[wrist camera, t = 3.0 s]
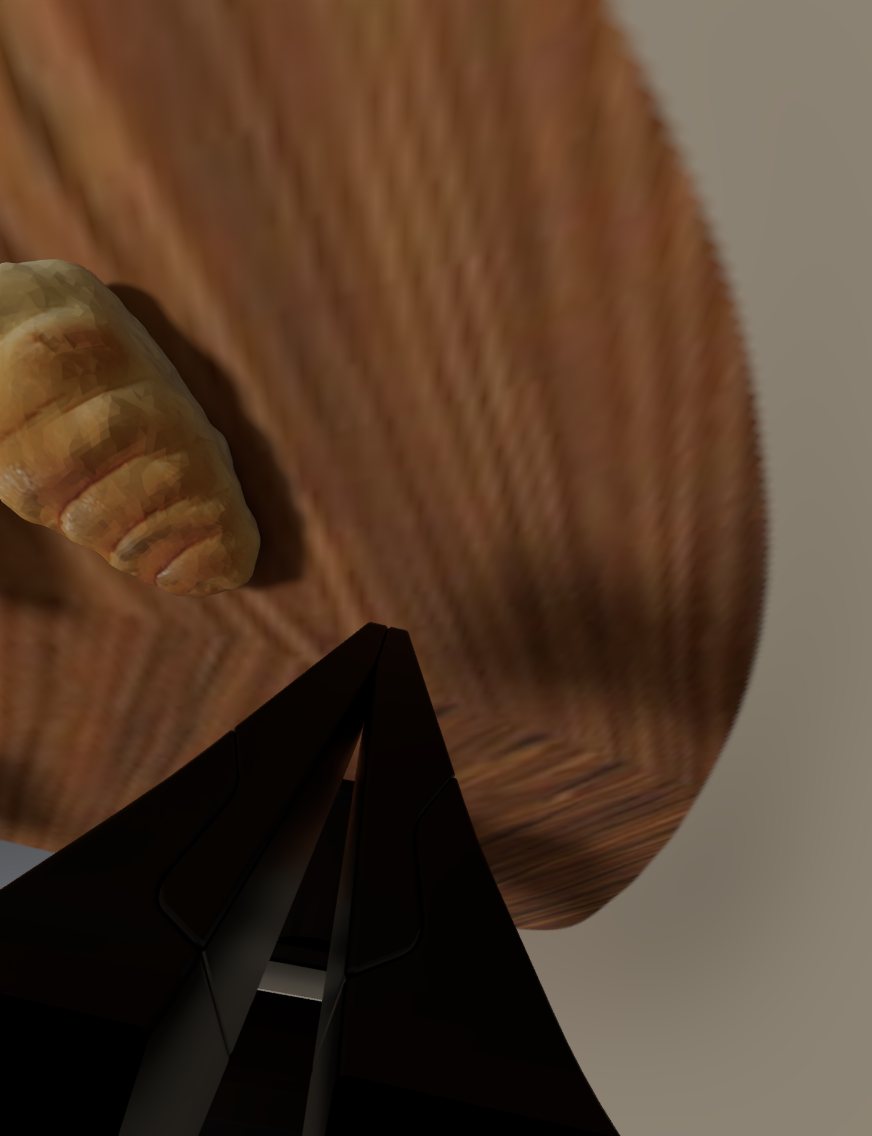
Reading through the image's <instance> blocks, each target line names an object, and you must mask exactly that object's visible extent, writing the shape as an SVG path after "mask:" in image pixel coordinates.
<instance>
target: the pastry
mask: <svg viewBox="0 0 872 1136" xmlns="http://www.w3.org/2000/svg"><path fill="white" fill-rule="evenodd" d="M0 499H1V501H2V502H3V503H4V504H6V505H7V506H8V507H10V508H11V509H12V510H13V511H14V512H15V513H17V514H18V515H19V516H20V517H21V518H23V519H25V520H27V521H29V522H31V523H35V524H39V525H42V526H45V527H48V528H50V529H52V530H54V531H56V532H58V533H60V534H62V535H65V536H66V537H67V538H68V539H70V540H71V541H73V542H75V543H78V544H80V545H84V546H85V547H88V548H90V549H92V550H94V551H96V552H98V553H99V554H100V555H101V556H103V557H104V558H105V559H106V560H107V561H108V563H109V564H110V565H112V566H113V567H115V568H117V569H119V570H120V571H124V572H127V573H129V574H131V575H133V576H136V577H138V578H140V579H141V580H143V581H144V582H146V583H148V584H151V585H155V586H157V587H160V588H163V589H165V590H167V591H169V592H170V593H172V594H174V595H177V596H196V597H203V596H208V595H212V594H217V593H220V592H223V591H226V590H229V589H235V588H239V587H241V586H243V585H244V584H245V583H247V582H248V581H249V580H250V578H251V577H252V575H253V572H254V568H255V563H256V560H257V557H258V553H259V548H260V542H261V540H260V534H259V531H258V527H257V523H256V520H255V518H254V517H253V515H252V513H251V512H250V510H249V508H248V506H247V505H246V502H245V499H244V496H243V492H242V489H241V485H240V482H239V481H238V478H237V476H236V473H235V471H234V467H233V460H232V455H231V451H230V449H229V446H228V443H227V441H226V439H225V437H224V436H223V434H222V433H221V432H219V431H218V430H217V429H215V428H214V427H213V426H212V425H211V424H210V422H209V421H208V419H207V416H206V414H205V412H204V411H203V409H202V407H201V406H200V405H199V403H198V402H197V401H196V399H195V398H194V397H193V395H192V394H191V392H190V391H189V389H188V388H187V386H186V385H185V383H184V382H183V380H182V379H181V377H180V375H179V373H178V371H177V370H176V368H175V367H174V365H173V364H172V363H171V361H170V360H169V359H168V358H167V357H166V355H165V354H164V352H163V351H162V349H161V348H160V347H159V346H158V344H157V343H156V342H155V341H154V340H153V339H152V337H151V336H150V335H149V333H148V332H147V330H146V329H145V327H144V326H143V325H142V324H141V323H140V322H139V321H138V320H137V319H136V318H135V317H134V316H133V315H132V314H131V313H130V312H129V311H128V310H127V308H126V307H125V306H124V304H123V303H122V302H121V300H120V299H119V298H118V297H117V296H116V295H115V294H114V293H113V292H112V291H111V290H109V289H108V288H107V287H106V286H105V285H104V284H103V283H102V282H101V281H100V280H99V279H98V278H97V277H96V276H95V275H94V274H93V273H92V272H91V271H89V270H87V269H86V268H84V267H83V266H80V265H78V264H76V263H71V262H67V261H63V260H59V259H49V260H39V261H32V262H24V263H19V264H16V263H8V262H6V263H2V264H0Z"/></svg>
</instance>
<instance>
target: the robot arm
mask: <svg viewBox="0 0 872 1136" xmlns="http://www.w3.org/2000/svg"><path fill="white" fill-rule="evenodd" d="M363 725H364V726H363ZM362 728H363V731H362ZM234 731H235V733H234ZM234 731H232V730H231V731H229V732H228V733H226V734H225V735H224V736H223V737H221V738H220V739H219V740H218V741H216V742H215V743H214V744H212V745H211V746H210V747H209V748H207V749H206V750H205V751H203V752H202V753H201V754H199V755H198V756H197V757H195V758H194V759H193V760H191V761H190V762H189V763H187V764H186V765H185V766H183V767H182V768H181V769H179V770H178V771H177V772H175V773H174V774H173V775H171V776H170V777H168V778H167V779H165V780H164V781H162V782H161V783H160V784H158V785H157V786H155V787H154V788H152V789H151V790H149V791H148V792H146V793H145V794H143V795H142V796H141V797H139V798H138V799H136V800H135V801H133V802H132V803H130V804H129V805H127V806H126V807H124V808H123V809H122V810H120V811H119V812H117V813H116V814H114V815H112V816H111V817H109V818H108V819H106V820H105V821H103V822H102V823H100V824H99V825H97V826H96V827H94V828H93V829H91V830H90V831H88V832H87V833H85V834H84V835H82V836H81V837H79V838H78V839H76V840H75V841H73V842H72V843H70V844H69V845H67V846H66V847H64V848H62V849H61V850H59V851H58V852H56V853H55V854H53V855H52V856H50V857H49V858H47V859H46V860H45V861H43V862H41V863H40V864H38V865H37V866H35V867H34V868H32V869H31V870H29V871H28V872H26V873H25V874H23V875H22V876H20V877H19V878H17V879H16V880H14V881H12V882H11V883H9V884H8V885H7V886H5V887H3V888H2V889H0V1136H620V1134H619V1133H618V1131H617V1130H616V1128H615V1127H614V1125H613V1123H612V1122H611V1120H610V1118H609V1117H608V1115H607V1114H606V1112H605V1110H604V1109H603V1108H602V1106H601V1104H600V1102H599V1101H598V1099H597V1097H596V1095H595V1094H594V1092H593V1090H592V1088H591V1086H590V1085H589V1083H588V1081H587V1079H586V1077H585V1076H584V1074H583V1072H582V1070H581V1068H580V1066H579V1064H578V1062H577V1060H576V1058H575V1056H574V1054H573V1052H572V1050H571V1048H570V1046H569V1045H568V1043H567V1040H566V1038H565V1036H564V1034H563V1032H562V1029H561V1027H560V1025H559V1023H558V1021H557V1019H556V1016H555V1014H554V1012H553V1010H552V1008H551V1006H550V1003H549V1001H548V999H547V996H546V994H545V992H544V990H543V987H542V985H541V983H540V981H539V979H538V976H537V974H536V972H535V969H534V967H533V965H532V963H531V960H530V958H529V956H528V954H527V952H526V950H525V947H524V945H523V942H522V940H521V938H520V936H519V934H518V931H517V929H516V927H515V925H514V922H513V920H512V918H511V916H510V913H509V911H508V909H507V907H506V904H505V902H504V900H503V898H502V895H501V893H500V891H499V889H498V886H497V884H496V882H495V879H494V877H493V875H492V872H491V870H490V867H489V865H488V863H487V860H486V858H485V855H484V853H483V851H482V848H481V846H480V844H479V841H478V839H477V836H476V833H475V830H474V827H473V825H472V822H471V819H470V816H469V814H468V811H467V808H466V805H465V802H464V799H463V796H462V793H461V790H460V787H459V784H458V781H457V779H456V778H454V776H455V773H454V770H453V767H452V764H451V761H450V758H449V755H448V751H447V748H446V745H445V742H444V739H443V736H442V733H441V730H440V727H439V724H438V721H437V718H436V715H435V712H434V709H433V706H432V703H431V700H430V697H429V694H428V691H427V688H426V685H425V681H424V678H423V675H422V672H421V669H420V666H419V663H418V660H417V657H416V654H415V651H414V648H413V645H412V642H411V639H410V636H409V633H408V631H406V630H403V629H399V628H394V627H390V628H389V629H388V628H387V626H385V625H381V624H377V623H373V622H369V623H367V624H366V625H365V626H363V627H362V628H361V629H360V630H358V631H357V632H356V633H354V634H353V635H352V636H351V637H349V638H348V639H347V640H345V641H344V642H343V643H342V644H340V645H339V646H338V647H337V648H335V649H334V650H333V651H331V652H330V653H329V654H328V655H326V656H325V657H324V658H323V659H321V660H320V661H319V662H317V663H316V664H315V665H314V666H312V667H311V668H310V669H308V670H307V671H306V672H305V673H303V674H302V675H301V676H300V677H298V678H297V679H296V680H294V681H293V682H292V683H291V684H289V685H288V686H287V687H286V688H284V689H283V690H282V691H280V692H279V693H278V694H277V695H275V696H274V697H273V698H271V699H270V700H269V701H268V702H266V703H265V704H264V705H263V706H261V707H260V708H259V709H257V710H256V711H255V712H254V713H252V714H251V715H250V716H248V717H247V718H246V719H245V720H243V721H242V722H241V723H240V724H238V725H237V726H236V727H235V729H234ZM361 732H362V737H361V742H360V749H359V755H358V762H357V769H356V776H355V782H354V785H351V784H346V783H341V782H342V780H343V777H344V775H345V772H346V770H347V767H348V765H349V762H350V760H351V757H352V755H353V752H354V750H355V747H356V745H357V742H358V740H359V737H360V734H361ZM258 988H260V989H266V990H271V991H277V992H282V993H288V994H293V995H299V996H304V997H310V998H316V999H321V1000H322V1002H321V1001H316V1000H310V999H304V998H299V997H293V996H288V995H282V994H276V993H271V992H266V991H260V990H257V989H258Z"/></svg>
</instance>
